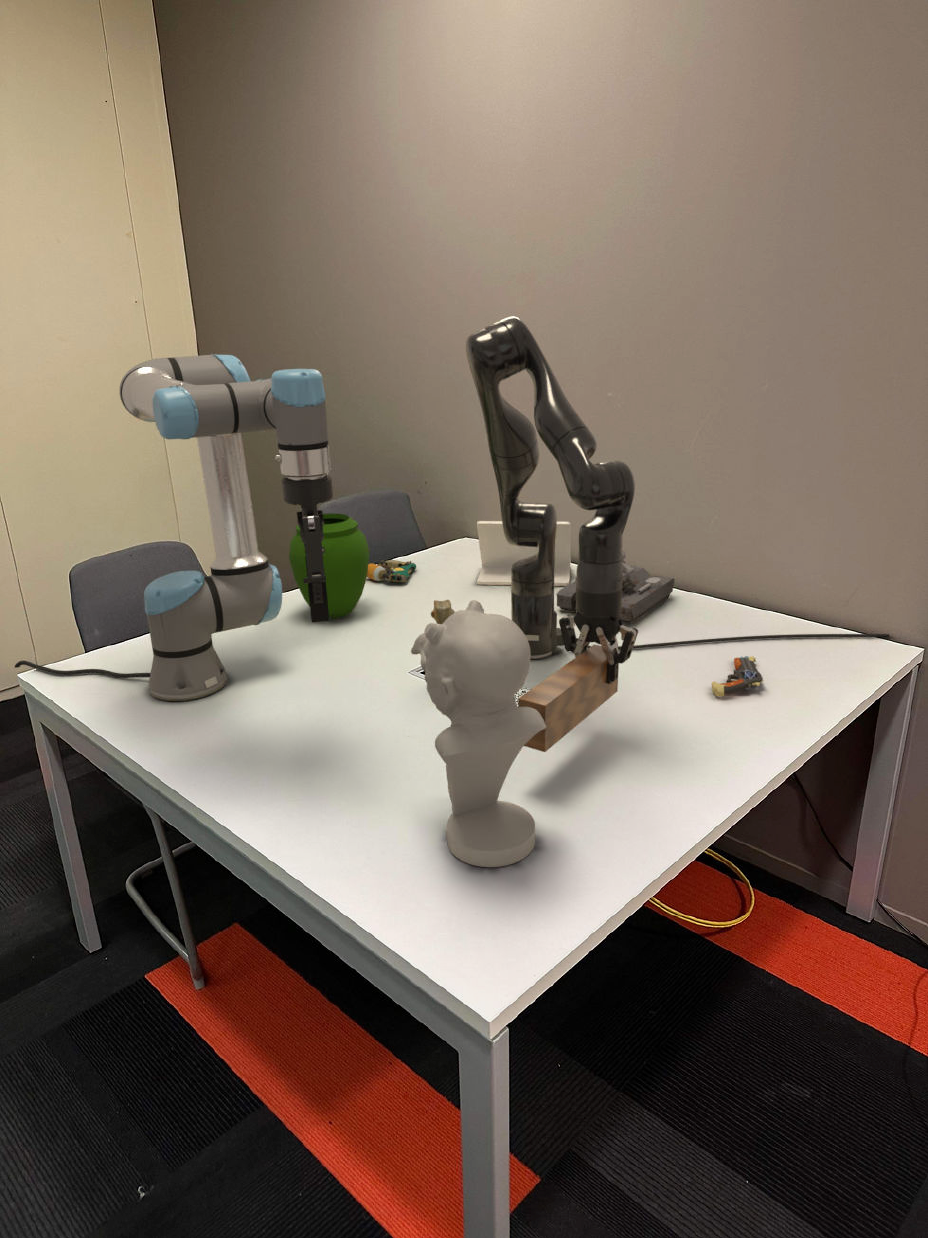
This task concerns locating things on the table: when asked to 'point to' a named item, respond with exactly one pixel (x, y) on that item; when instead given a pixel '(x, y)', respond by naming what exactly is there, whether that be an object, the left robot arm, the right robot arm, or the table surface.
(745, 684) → the toy gun
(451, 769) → the bust sculpture
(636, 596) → the toy
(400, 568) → the spray gun
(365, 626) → the table surface
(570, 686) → the bar
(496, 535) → the tablet stand
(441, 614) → the sculpture
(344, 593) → the vase
